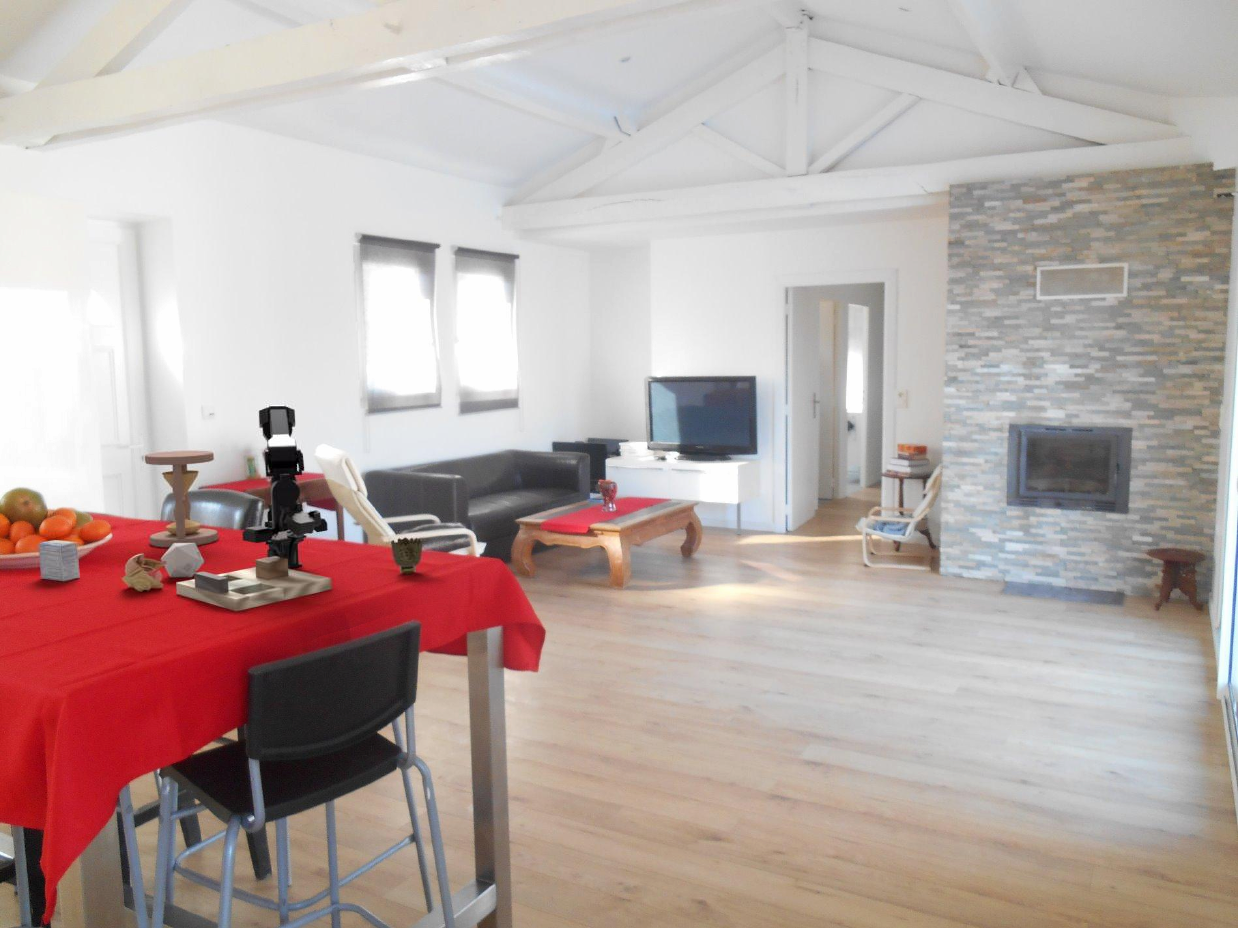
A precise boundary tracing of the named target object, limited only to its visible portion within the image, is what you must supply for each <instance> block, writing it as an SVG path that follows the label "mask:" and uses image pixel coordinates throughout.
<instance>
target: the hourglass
mask: <svg viewBox="0 0 1238 928" xmlns="http://www.w3.org/2000/svg"><path fill="white" fill-rule="evenodd" d="M214 455H215V454H214V452H212V451H209V450H173V451H161V452H153V453H148V454H145V455H144V463H145V464H147V465H153V466H154V465H155V466H172V471H164V472H162V473H161V475H162V476H163V479H164V480H165V481H166V482H167V483H168V485H169V486H170V487H171V489H172V493H173V496H174V499H175V505H174V508H173V518H174V522H171V523H170V524H168V525H166V527H165V529H166V530H165V531H160V532H156V533H153V534H151V535H150V536H149V542H150V545H151V546H153V547H157V548H170V547H171V546H172V545H173V544H174V543H195V544H196V546H197V547H198V546H202V545H207V544H211V543H215V541H217V540H218V539H219V532H218V531H217V530H216V529H212V528H201V523H200V522H196V521H193V520H191V511H192V510H191V509H192V507H191V502H190V498H189V495H188V492H189V490H190V488H191V487H192V485H193V483H194V482H195V480H196V479H197V478H198V475H199V473H200V471H199V470H188V465H193V464H202V463H203V464H204V463H210V462H212V461H214V459H215V458H214V457H215V456H214Z"/></svg>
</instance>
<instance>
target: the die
mask: <svg viewBox="0 0 1238 928" xmlns="http://www.w3.org/2000/svg"><path fill="white" fill-rule="evenodd" d="M160 561H161V562H162V561H166V562H167V563H166V564H165V565H164V566H163V567H164V568H165V570H166V572H167V574H168V575H169V577H170V578H192V577H194V573H197V571H198V570H199V569H200V568H201V566H203V564H204V563H205V559H204V558H203V556H202V553H201V552H200V550H199V548H198V545H197V546H196V544H195V543H174V544H173V545H172V546H171V547H168V550H166V552H164V554H163V555H162V557H161V558H160Z"/></svg>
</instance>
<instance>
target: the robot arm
mask: <svg viewBox="0 0 1238 928" xmlns="http://www.w3.org/2000/svg"><path fill="white" fill-rule="evenodd" d="M295 413H296V410H295V409H294V408H291V407H289V405H287V404H268V405H266V407H265V408H262V409H260V410H258V425H259V429H261V430H262V437H263V438H264V439H265V441H266V442H267V443H266V446H267V447H266V449H264V452H263V453H264V467H265V478H266V477H267V478H268V477H270V479H269V481H270V482H269V483H270V499H271V501H270V503H268V504H267V508H268V510H267V512H266V519H265V520H264V526H262V525H256V526H250V527H245V528H244V530H243V532H242V535H241V536H242V541H244V542H249V543H253V544H262V543H265V546H267V545H268V549H267V550H266V552H267V558H268V557H273V556H277V557H281V558H286V559H288V569H293V568H298V567H302V566H303V563H301V562H299V561H300V560H299V543H302V542H304V541H305V539H306V538H307V536H308V534H313V533H314V532H315V533H321V532H327V531H328V530H329V529H328V527H329V526H328V521H327V520H326V519H325V518H322V516H321V512H320V510H318V509H315V510H310V511H306V512H305V511H304V510H303V505H302V503H300V502H299V498H300V494H301V490H300V487H299V484H298V478H297V477H296V476H302V475H303V472H305V463H304V454H303V452H302V449H301V448H298V446H297V440H296V439H294V438H292V435H293V432H294V431H293V430H294V429H293V428H295V427H296V414H295Z"/></svg>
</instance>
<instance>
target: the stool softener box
mask: <svg viewBox="0 0 1238 928" xmlns="http://www.w3.org/2000/svg"><path fill="white" fill-rule="evenodd" d="M38 554H39V567H40V578H41V579H43V580H44V579H45V580H52V581H60V582H67V581H71V580H75V579H79V578H80V577H81V574H80V565H79V553H78V543H77V542H76V541H67V540H58V539H57V540H55V539H54V540H48V541H43V542H40V543H38Z"/></svg>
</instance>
